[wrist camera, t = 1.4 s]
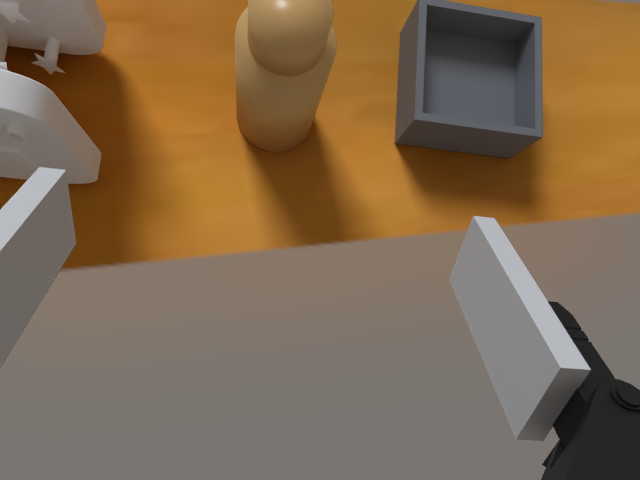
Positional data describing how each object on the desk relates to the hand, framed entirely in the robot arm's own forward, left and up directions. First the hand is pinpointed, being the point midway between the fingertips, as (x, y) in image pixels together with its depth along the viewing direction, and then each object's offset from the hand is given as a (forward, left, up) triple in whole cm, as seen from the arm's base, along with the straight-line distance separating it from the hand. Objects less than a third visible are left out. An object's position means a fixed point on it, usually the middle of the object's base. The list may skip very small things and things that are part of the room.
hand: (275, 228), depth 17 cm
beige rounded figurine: (0, +11, -15) cm, 19 cm away
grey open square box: (+12, +14, -15) cm, 24 cm away
